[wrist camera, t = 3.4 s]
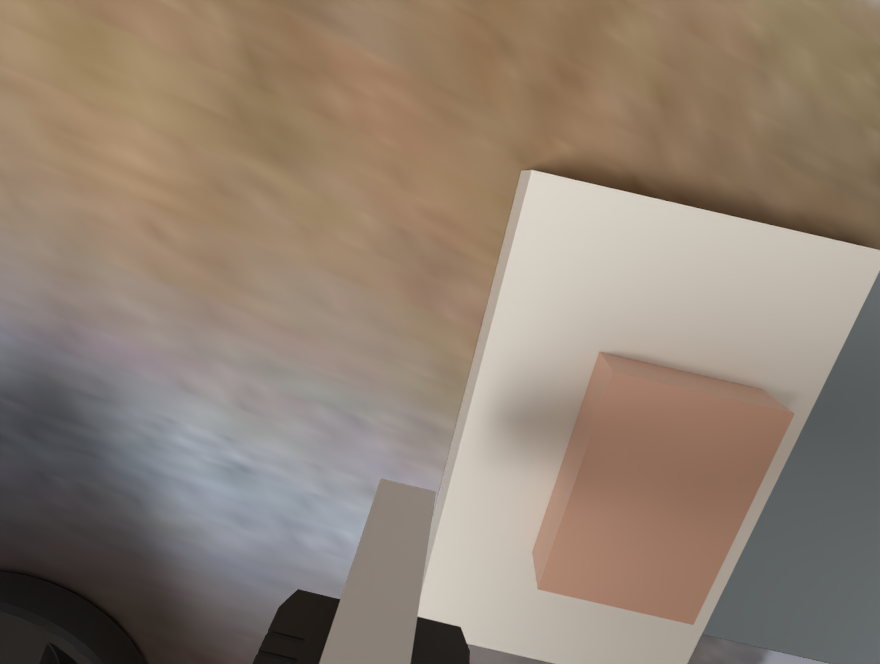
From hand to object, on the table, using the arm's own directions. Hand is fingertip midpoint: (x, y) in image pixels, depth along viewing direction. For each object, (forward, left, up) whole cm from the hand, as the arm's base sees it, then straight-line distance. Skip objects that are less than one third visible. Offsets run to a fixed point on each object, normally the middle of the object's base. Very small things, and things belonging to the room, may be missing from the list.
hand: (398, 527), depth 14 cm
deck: (0, -8, -10) cm, 13 cm away
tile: (0, -9, -6) cm, 11 cm away
